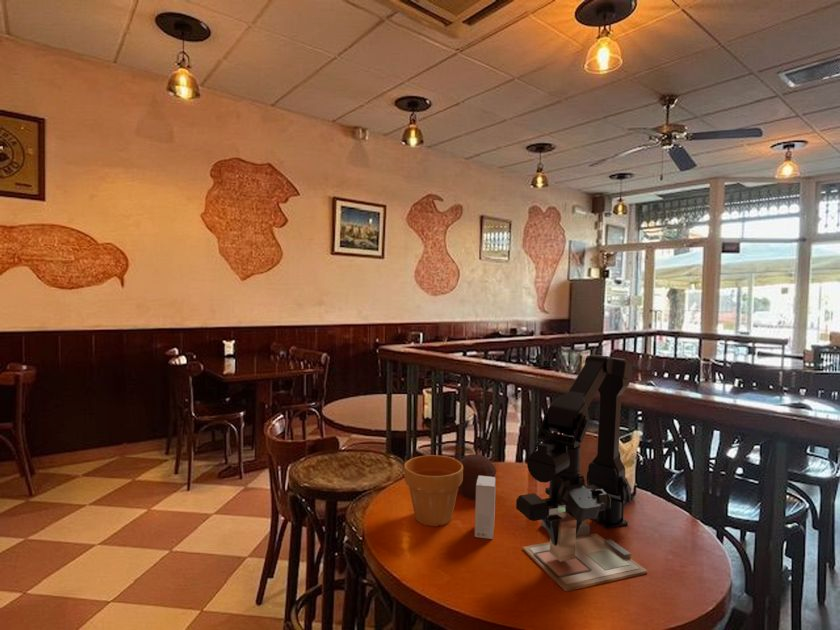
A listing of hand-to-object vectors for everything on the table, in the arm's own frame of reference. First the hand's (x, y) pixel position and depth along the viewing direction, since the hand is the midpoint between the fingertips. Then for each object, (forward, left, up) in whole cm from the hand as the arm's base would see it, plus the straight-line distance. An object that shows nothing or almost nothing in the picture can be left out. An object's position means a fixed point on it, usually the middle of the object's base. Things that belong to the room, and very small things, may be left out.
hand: (562, 543), depth 96 cm
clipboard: (-5, 0, -4) cm, 7 cm away
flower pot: (+18, -26, -5) cm, 32 cm away
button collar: (-9, -11, -4) cm, 15 cm away
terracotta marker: (0, 0, -2) cm, 2 cm away
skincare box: (+9, -16, -5) cm, 19 cm away
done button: (-9, -11, -3) cm, 15 cm away
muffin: (+2, -36, -5) cm, 37 cm away
